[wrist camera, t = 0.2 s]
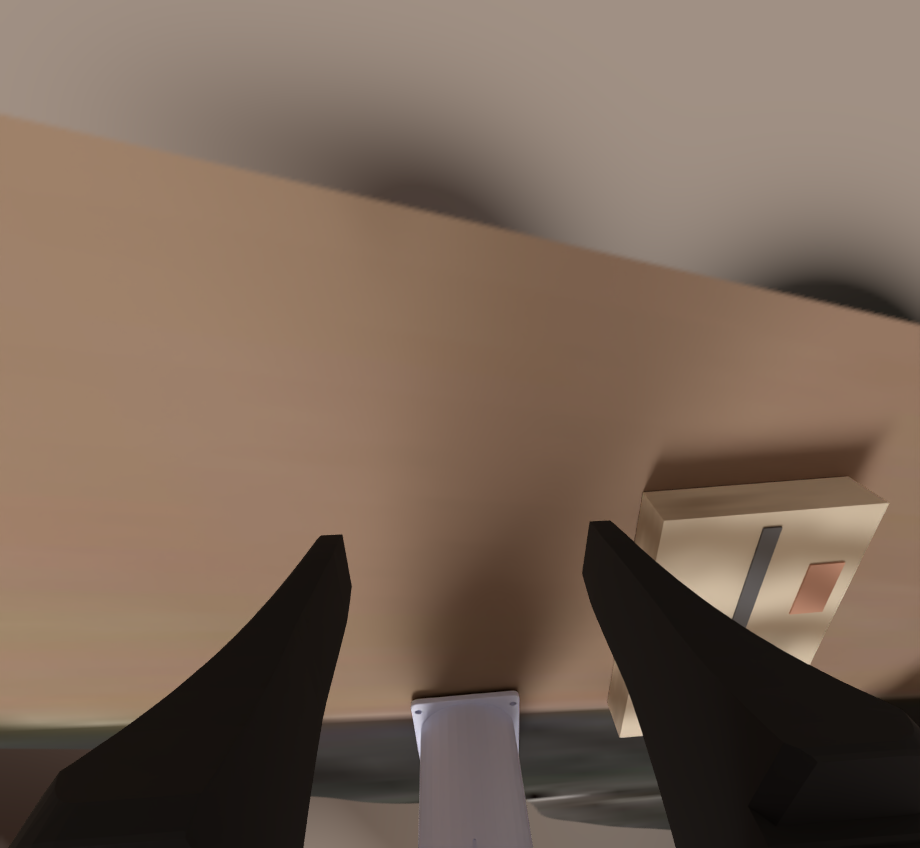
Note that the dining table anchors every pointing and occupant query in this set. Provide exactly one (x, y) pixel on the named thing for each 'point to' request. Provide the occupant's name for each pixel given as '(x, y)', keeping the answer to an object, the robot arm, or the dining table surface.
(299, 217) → the dining table surface
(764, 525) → the console
